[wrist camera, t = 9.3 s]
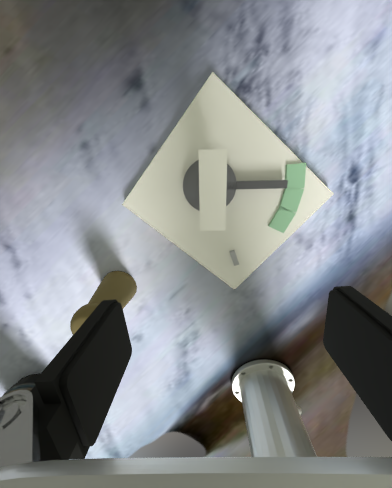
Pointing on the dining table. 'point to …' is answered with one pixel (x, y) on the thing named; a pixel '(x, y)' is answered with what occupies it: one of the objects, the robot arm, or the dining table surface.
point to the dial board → (245, 200)
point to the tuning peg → (216, 187)
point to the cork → (106, 295)
